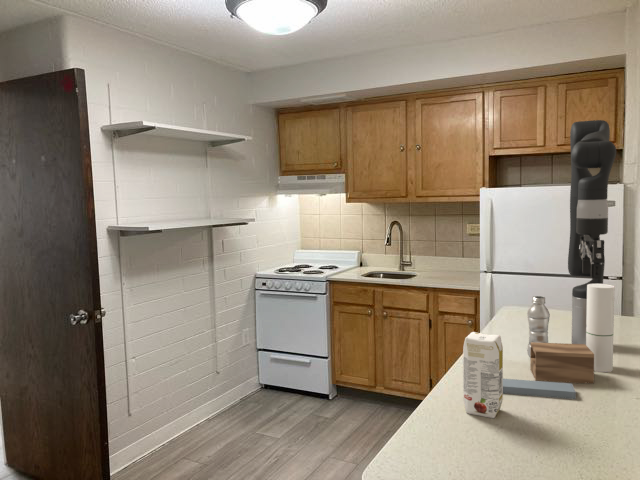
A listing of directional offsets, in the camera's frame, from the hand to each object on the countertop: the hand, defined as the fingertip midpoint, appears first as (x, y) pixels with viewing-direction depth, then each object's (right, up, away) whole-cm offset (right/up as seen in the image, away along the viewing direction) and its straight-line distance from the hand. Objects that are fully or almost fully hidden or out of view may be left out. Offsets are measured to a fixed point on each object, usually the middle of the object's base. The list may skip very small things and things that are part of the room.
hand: (591, 275), depth 141 cm
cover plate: (-17, -32, -2) cm, 36 cm away
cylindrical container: (+10, -29, +14) cm, 34 cm away
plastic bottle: (-4, -28, +24) cm, 37 cm away
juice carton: (-34, -33, -13) cm, 49 cm away
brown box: (-4, -30, +8) cm, 31 cm away
